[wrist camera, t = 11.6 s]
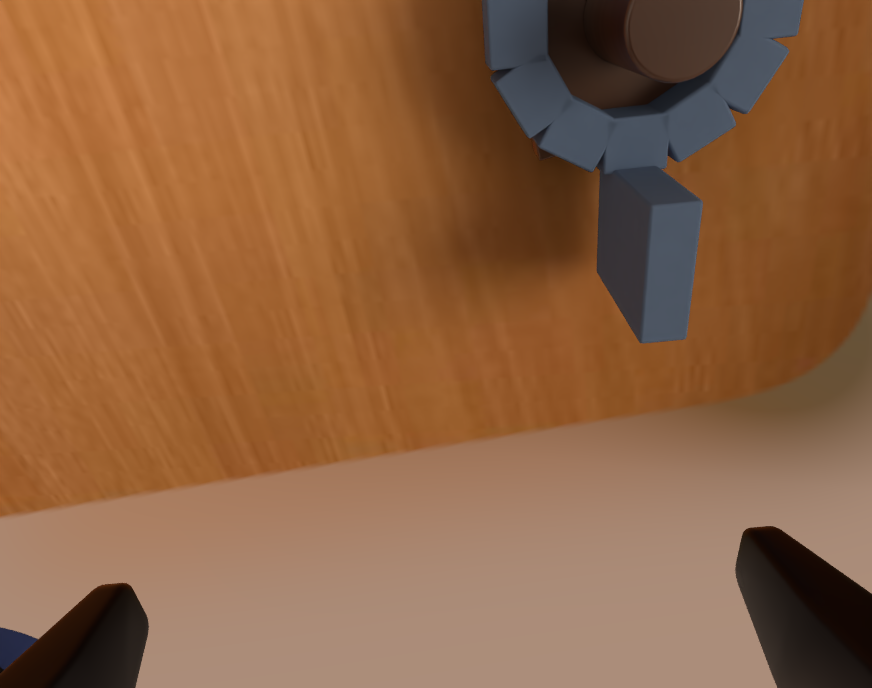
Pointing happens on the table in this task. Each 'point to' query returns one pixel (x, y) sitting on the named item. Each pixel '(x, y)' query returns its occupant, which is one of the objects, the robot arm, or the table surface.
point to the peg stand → (635, 46)
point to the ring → (637, 148)
